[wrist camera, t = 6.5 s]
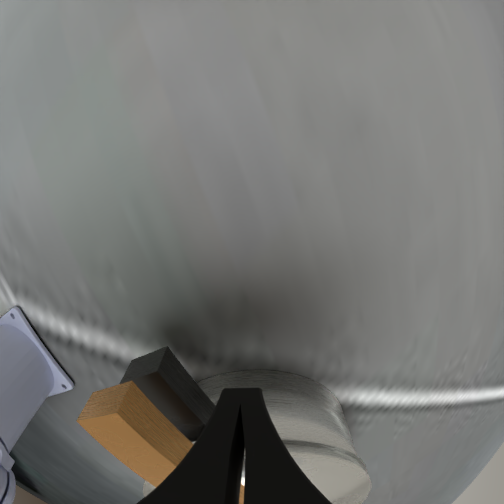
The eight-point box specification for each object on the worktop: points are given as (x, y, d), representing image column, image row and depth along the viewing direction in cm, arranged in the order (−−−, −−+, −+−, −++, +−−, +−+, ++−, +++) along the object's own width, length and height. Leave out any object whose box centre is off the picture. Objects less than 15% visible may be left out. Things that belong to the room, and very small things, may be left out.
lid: (381, 494, 15) (390, 522, 12) (220, 532, 17) (219, 557, 14) (280, 304, 10) (290, 356, 7) (39, 395, 12) (15, 429, 9)
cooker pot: (366, 455, 22) (382, 502, 16) (239, 493, 24) (238, 537, 18) (270, 270, 16) (281, 328, 10) (91, 353, 18) (53, 407, 12)
